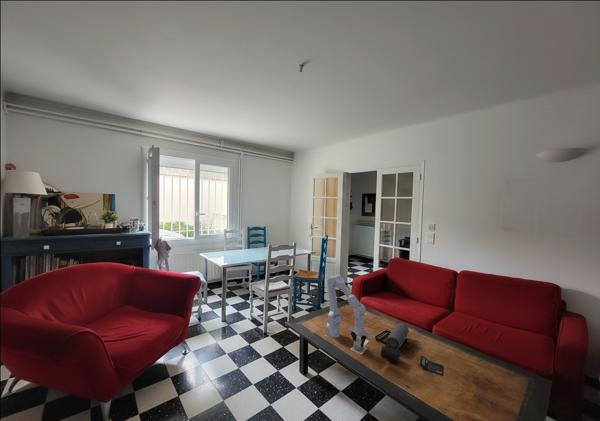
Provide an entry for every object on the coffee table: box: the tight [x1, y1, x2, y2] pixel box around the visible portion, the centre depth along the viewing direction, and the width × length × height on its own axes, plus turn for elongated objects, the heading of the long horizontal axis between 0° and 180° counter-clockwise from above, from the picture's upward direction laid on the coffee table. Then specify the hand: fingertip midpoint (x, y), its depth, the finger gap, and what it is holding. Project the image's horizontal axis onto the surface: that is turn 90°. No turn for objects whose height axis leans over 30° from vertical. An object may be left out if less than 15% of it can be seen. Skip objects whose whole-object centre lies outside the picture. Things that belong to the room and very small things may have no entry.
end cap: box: [380, 344, 401, 364], centre depth 150 cm, size 10×7×7 cm
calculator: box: [419, 355, 444, 376], centre depth 144 cm, size 9×12×3 cm
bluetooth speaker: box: [386, 322, 409, 350], centre depth 167 cm, size 23×9×10 cm, turn 143°
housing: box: [353, 336, 365, 351], centre depth 158 cm, size 4×6×5 cm
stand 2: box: [349, 345, 368, 355], centre depth 158 cm, size 8×8×2 cm
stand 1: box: [353, 336, 369, 347], centre depth 166 cm, size 8×8×2 cm
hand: (358, 344), depth 158 cm, fingers closed on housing, 4 cm apart
